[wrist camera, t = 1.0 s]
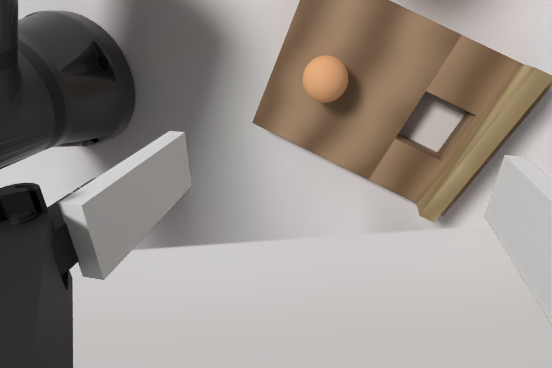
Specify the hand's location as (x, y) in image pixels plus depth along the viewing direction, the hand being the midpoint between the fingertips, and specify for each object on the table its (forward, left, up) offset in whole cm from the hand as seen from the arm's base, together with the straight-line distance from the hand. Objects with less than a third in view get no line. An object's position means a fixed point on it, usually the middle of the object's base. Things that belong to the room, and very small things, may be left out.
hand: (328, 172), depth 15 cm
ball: (-2, 0, -18) cm, 18 cm away
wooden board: (+4, 0, -22) cm, 23 cm away
